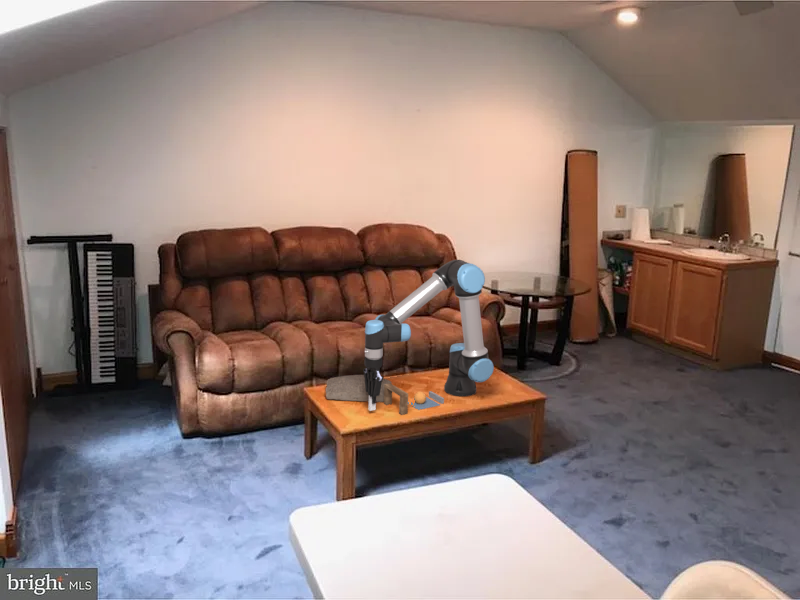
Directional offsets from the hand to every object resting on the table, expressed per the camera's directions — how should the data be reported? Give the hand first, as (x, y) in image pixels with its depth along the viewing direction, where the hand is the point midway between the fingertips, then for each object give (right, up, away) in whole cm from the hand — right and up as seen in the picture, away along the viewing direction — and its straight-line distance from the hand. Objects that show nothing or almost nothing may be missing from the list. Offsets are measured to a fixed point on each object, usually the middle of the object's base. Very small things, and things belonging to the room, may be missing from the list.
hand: (372, 409), depth 290 cm
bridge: (+10, -1, +7) cm, 12 cm away
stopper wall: (+28, +1, +19) cm, 34 cm away
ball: (+21, +3, +13) cm, 25 cm away
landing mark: (+22, +1, +14) cm, 26 cm away
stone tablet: (-7, +3, +23) cm, 24 cm away
